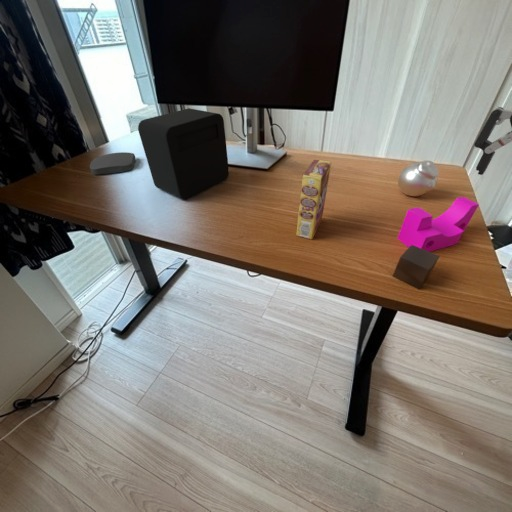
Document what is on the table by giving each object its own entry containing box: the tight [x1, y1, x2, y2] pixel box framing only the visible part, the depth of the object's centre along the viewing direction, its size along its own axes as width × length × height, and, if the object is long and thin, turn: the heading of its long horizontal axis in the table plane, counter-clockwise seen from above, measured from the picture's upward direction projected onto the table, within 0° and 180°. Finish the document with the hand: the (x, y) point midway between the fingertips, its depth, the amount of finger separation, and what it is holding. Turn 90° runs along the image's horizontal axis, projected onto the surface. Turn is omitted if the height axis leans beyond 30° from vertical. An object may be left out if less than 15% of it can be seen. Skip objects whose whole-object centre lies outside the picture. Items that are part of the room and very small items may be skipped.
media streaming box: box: [89, 151, 137, 175], centre depth 100 cm, size 15×15×3 cm
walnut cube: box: [392, 245, 440, 290], centre depth 50 cm, size 5×5×5 cm
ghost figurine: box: [397, 159, 440, 197], centre depth 73 cm, size 9×10×10 cm
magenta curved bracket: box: [396, 196, 480, 252], centre depth 58 cm, size 15×6×8 cm, turn 109°
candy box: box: [295, 159, 332, 240], centre depth 60 cm, size 9×4×15 cm, turn 155°
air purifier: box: [137, 108, 230, 201], centre depth 80 cm, size 20×15×20 cm
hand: (509, 180), depth 47 cm, fingers open, 8 cm apart
